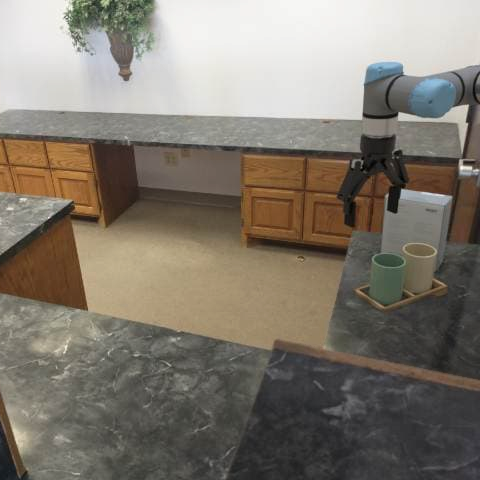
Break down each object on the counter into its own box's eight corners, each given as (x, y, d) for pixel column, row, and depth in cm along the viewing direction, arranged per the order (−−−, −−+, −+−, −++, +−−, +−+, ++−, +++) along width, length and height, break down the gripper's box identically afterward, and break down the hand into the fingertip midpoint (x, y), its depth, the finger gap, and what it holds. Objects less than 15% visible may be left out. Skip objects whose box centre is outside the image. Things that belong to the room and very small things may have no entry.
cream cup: (437, 293, 131) (443, 251, 125) (414, 301, 128) (420, 260, 123) (413, 280, 137) (418, 240, 132) (391, 287, 135) (396, 247, 129)
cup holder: (446, 294, 130) (447, 285, 129) (383, 317, 124) (384, 309, 123) (413, 276, 139) (414, 268, 138) (353, 297, 133) (353, 289, 132)
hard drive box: (443, 261, 144) (454, 196, 135) (435, 273, 139) (446, 206, 130) (387, 248, 153) (394, 186, 145) (377, 259, 149) (384, 195, 140)
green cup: (407, 304, 128) (413, 262, 122) (383, 313, 125) (388, 271, 120) (384, 290, 134) (389, 250, 129) (361, 298, 132) (365, 258, 127)
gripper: (406, 120, 123) (397, 201, 133) (323, 141, 115) (319, 226, 125) (432, 126, 117) (421, 211, 126) (346, 148, 109) (341, 237, 118)
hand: (370, 218), depth 125 cm, fingers open, 13 cm apart
